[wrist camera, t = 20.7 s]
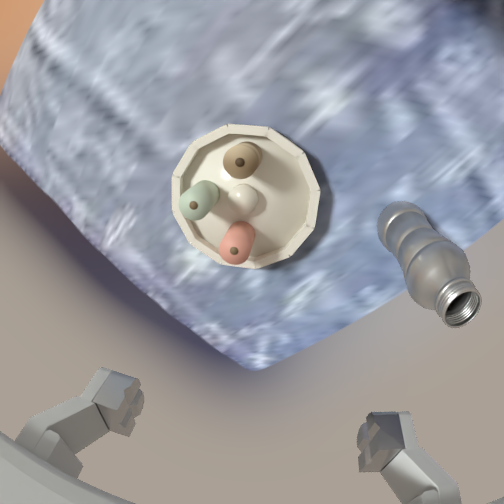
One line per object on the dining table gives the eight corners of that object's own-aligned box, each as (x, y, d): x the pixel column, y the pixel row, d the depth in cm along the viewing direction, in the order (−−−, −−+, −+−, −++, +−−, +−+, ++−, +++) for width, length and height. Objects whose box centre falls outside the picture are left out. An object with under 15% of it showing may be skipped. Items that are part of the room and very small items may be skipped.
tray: (179, 121, 35) (173, 122, 33) (325, 133, 34) (327, 134, 32) (178, 250, 43) (173, 257, 41) (306, 267, 41) (306, 275, 39)
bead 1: (192, 178, 37) (178, 188, 33) (220, 181, 37) (209, 191, 32) (192, 206, 39) (178, 219, 34) (219, 208, 38) (208, 222, 34)
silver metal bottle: (426, 223, 36) (503, 307, 18) (389, 253, 39) (442, 354, 21) (402, 186, 35) (483, 254, 17) (363, 218, 37) (412, 310, 19)
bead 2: (233, 140, 35) (223, 144, 30) (263, 142, 34) (258, 146, 30) (231, 169, 36) (222, 178, 32) (261, 172, 36) (256, 180, 31)
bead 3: (228, 219, 39) (219, 234, 34) (256, 223, 39) (251, 238, 34) (227, 245, 41) (218, 262, 36) (254, 248, 40) (248, 266, 36)
